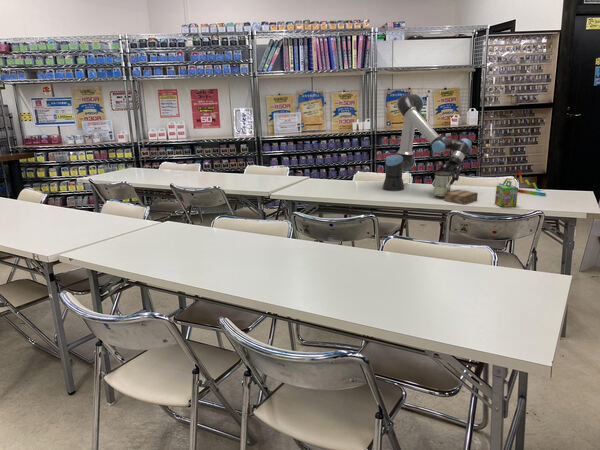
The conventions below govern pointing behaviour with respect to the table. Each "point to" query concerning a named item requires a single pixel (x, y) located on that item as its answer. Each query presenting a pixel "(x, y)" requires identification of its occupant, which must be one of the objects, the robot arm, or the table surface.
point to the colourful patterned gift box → (506, 195)
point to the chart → (528, 184)
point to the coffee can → (441, 183)
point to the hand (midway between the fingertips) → (439, 186)
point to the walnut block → (461, 196)
